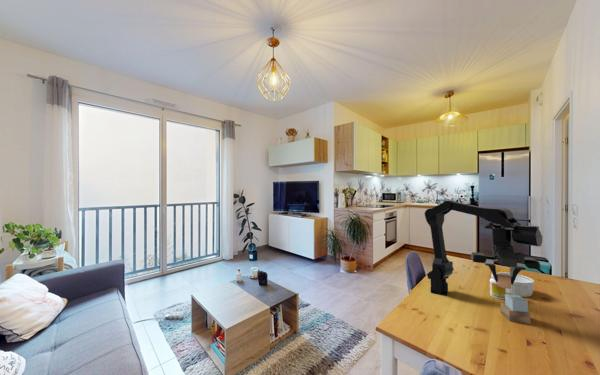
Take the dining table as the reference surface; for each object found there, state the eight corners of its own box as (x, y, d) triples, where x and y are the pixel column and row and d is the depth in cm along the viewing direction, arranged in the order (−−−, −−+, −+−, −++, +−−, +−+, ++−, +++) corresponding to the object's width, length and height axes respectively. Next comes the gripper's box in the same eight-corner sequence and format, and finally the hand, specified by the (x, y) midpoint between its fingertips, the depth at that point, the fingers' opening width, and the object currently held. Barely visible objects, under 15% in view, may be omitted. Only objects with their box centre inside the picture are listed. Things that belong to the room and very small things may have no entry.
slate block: (512, 310, 81) (512, 299, 81) (505, 304, 85) (505, 294, 85) (528, 312, 80) (527, 301, 80) (519, 306, 84) (519, 295, 84)
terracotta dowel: (498, 287, 83) (497, 276, 83) (495, 283, 86) (495, 273, 87) (512, 289, 81) (512, 278, 81) (509, 285, 84) (509, 274, 85)
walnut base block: (509, 321, 81) (509, 310, 81) (500, 313, 87) (500, 303, 87) (530, 324, 79) (530, 313, 79) (520, 316, 85) (520, 305, 85)
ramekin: (503, 295, 101) (502, 280, 101) (490, 284, 113) (490, 270, 113) (541, 300, 96) (541, 284, 96) (524, 288, 108) (524, 274, 108)
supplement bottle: (509, 300, 97) (508, 277, 97) (494, 299, 98) (494, 276, 98) (500, 294, 102) (500, 273, 102) (487, 293, 103) (486, 272, 103)
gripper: (474, 243, 82) (476, 285, 82) (546, 248, 73) (548, 296, 72) (470, 238, 92) (471, 276, 91) (533, 242, 82) (535, 284, 82)
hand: (504, 282), depth 84 cm, fingers closed on terracotta dowel, 4 cm apart
